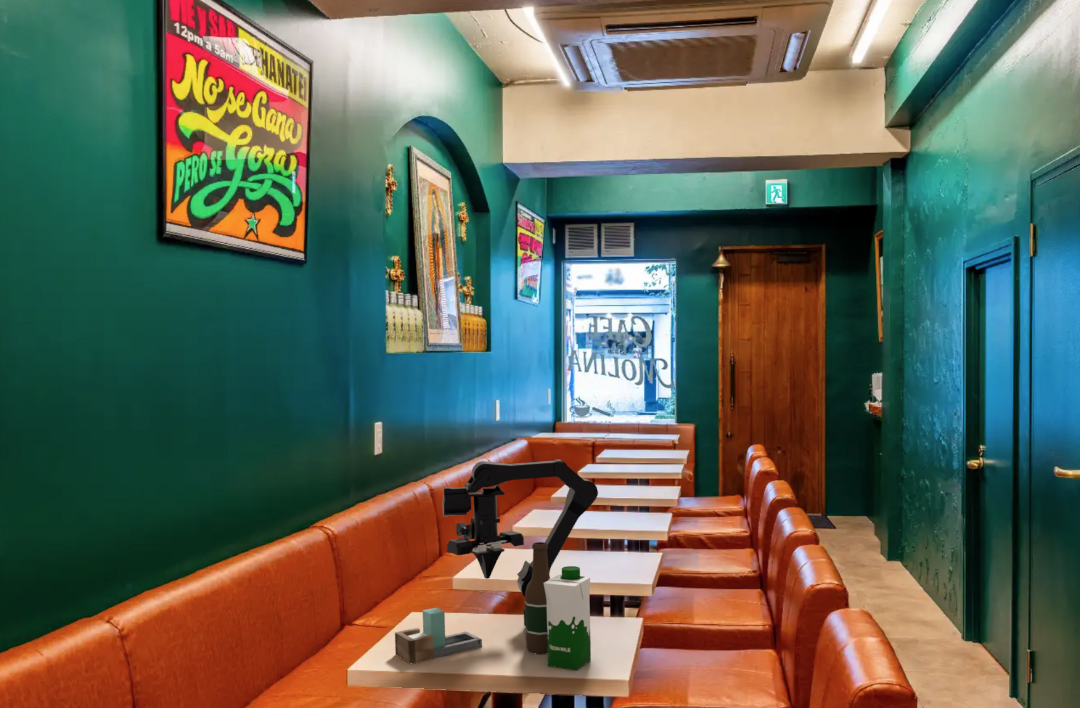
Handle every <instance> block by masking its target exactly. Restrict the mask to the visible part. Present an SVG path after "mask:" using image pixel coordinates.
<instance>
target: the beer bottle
mask: <svg viewBox="0 0 1080 708" xmlns="http://www.w3.org/2000/svg"><path fill="white" fill-rule="evenodd" d="M531 545H532V546H531V549H532V550H533V551H532V561H533V572H532V579H531V580H530V582H529V584H528V585H527V588H526V591H525V597H524V609H525V626H524V627H525V628H526V631H525V644H526V648H527V651H528V652H529V653H530V652H531V654H534V653H536V655H539V654H540V655H547V654H546V653H548V634H547V600H546V594H545V588H544V583H545V582H547V581H548V580H549V579H551V576H550V573H549V568H548V556H547V549H548V545H547V543H545V541H543V542H542V541H540V542H538V541H537V542H534V543H532V544H531Z"/></svg>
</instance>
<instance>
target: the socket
mask: <svg viewBox="0 0 1080 708" xmlns="http://www.w3.org/2000/svg"><path fill="white" fill-rule="evenodd" d="M418 633H421V629H420V628H419V627H415V628H410V629H405V630H400V631H394V645H395V655H396V656H397V655H398V656H399V658H400V657H401V658H400V659H402V660H403V659H404V661H405V662H407V663H408V662H409V663H408V664H410V663H413V664H417V663H421V661H422V662H426V661H429V660H433V659H435V658H434V650H433V636H432V635H427V636H423V637H418V638H413V639H412V638H411V637H409V635H413V634H418ZM398 656H397V657H398ZM416 662H417V663H416Z"/></svg>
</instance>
